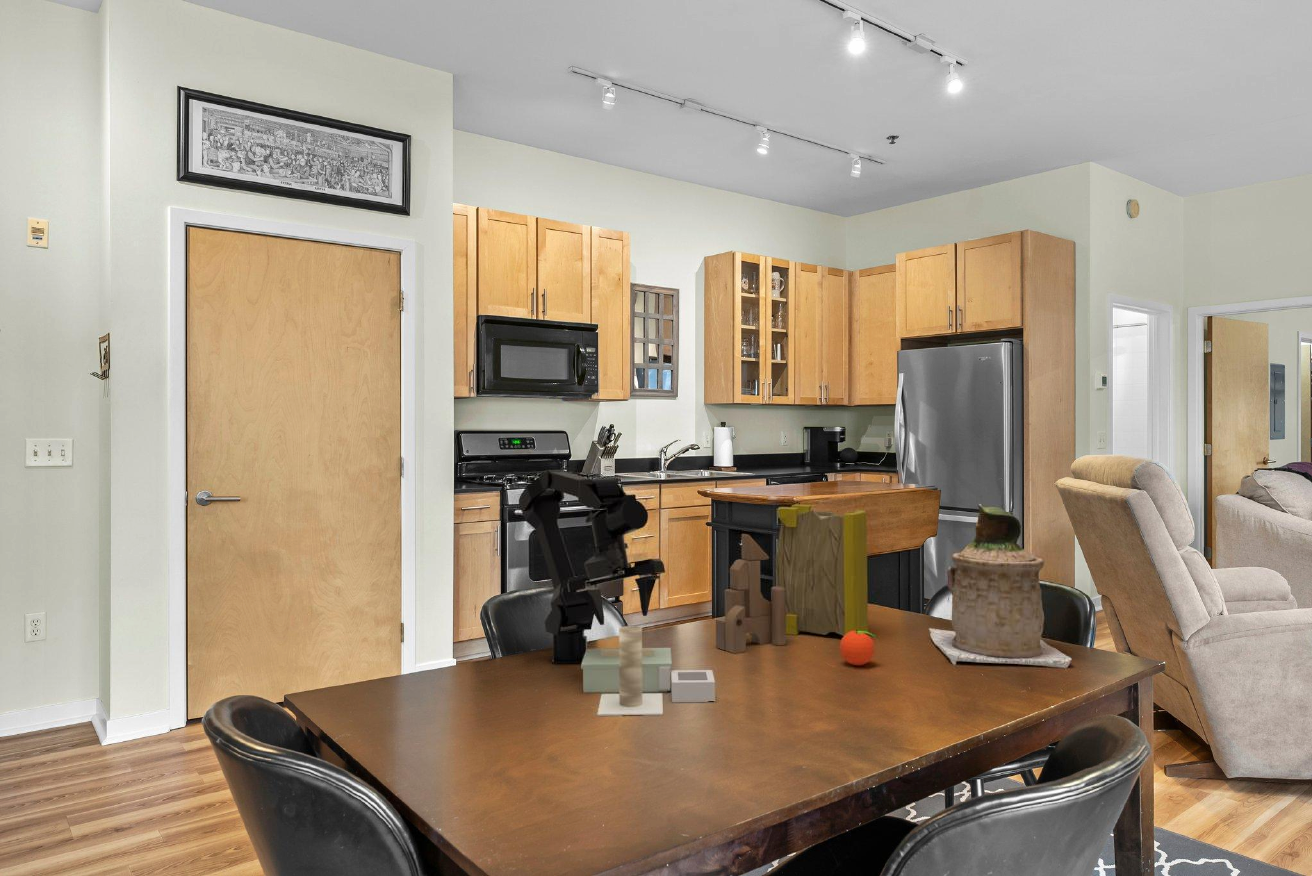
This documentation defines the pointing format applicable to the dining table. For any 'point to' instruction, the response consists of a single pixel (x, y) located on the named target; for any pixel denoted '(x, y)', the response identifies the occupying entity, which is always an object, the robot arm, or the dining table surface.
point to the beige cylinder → (630, 666)
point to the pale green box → (647, 675)
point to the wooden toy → (750, 605)
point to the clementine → (857, 647)
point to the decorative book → (823, 570)
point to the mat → (613, 708)
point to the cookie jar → (996, 599)
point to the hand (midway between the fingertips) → (623, 620)
